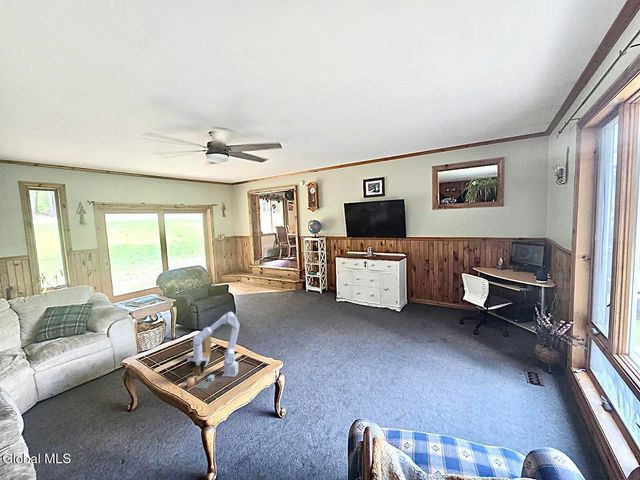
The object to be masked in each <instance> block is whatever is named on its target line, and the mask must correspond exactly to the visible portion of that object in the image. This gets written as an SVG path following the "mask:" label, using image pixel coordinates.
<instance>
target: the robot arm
mask: <svg viewBox="0 0 640 480" xmlns="http://www.w3.org/2000/svg"><path fill="white" fill-rule="evenodd" d="M222 325H230V326H231V327H232V328H231V331H230V336H229V340H228V345H227V348H226V350H225V352H224V354H223V356H224V361H223V373H222V375H221V377H228V378H229V377H230V378H231V377H234V378H235V377H236V376H237V374H238V373H239V362H238V361H236V360H235V348H236V344H237V340H238V336H239V331H240V326H241V324H240V322H239V319H238V317H237V315H236V314H235V313H234V312H233V311H228V312H226V313H225V314H223V315H222V316H221V317H220V318H219V319H218V320H217V321H215V322H214V323H213V324H212V325H211V326H206V327H204V328H203V330H201V331H200V333H199V332H198V333H196V334H195V335H194V336H193V337H192V343H193V344H192V348H193V349H192V352H193V354H192V355H193V357H188V358H187V362H189V363H188V364H189V366H190V367H191V370H193V368H194V367H195V366H196V362H201V363H200V367H201V373H202V372H203V371H204V370H205V367H206V366H205V364H206V362H208V361H210V357H209V358H204V357H203V356H202V341H203V340H204V339H206V338H207V337H208V336H209V335H212V334H213V331H215V330H216V329H217V328H219V327H220V326H222ZM208 363H209V362H208ZM204 372H205V371H204ZM204 372H203V373H204ZM203 373H202V374H203Z"/></svg>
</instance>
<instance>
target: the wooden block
mask: <svg viewBox="0 0 640 480" xmlns="http://www.w3.org/2000/svg"><path fill="white" fill-rule="evenodd" d="M200 332H201V331H200ZM200 332H198V333H200ZM211 335H212V334H211ZM211 335H209V336H208V337H207V338H206V339H204V340H203V341H202V353H203V352H206V353H209V354H210V356H209V358H211V355H212V337H211Z"/></svg>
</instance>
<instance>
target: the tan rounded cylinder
mask: <svg viewBox="0 0 640 480" xmlns="http://www.w3.org/2000/svg"><path fill="white" fill-rule="evenodd" d="M186 381H187V382H186V383H187V384H186V385H187V388H189V389H191V388H195V387H196V386H195V383H196V382H195V381H196V380H195V376H190V377H188V378H187V379H186Z"/></svg>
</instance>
